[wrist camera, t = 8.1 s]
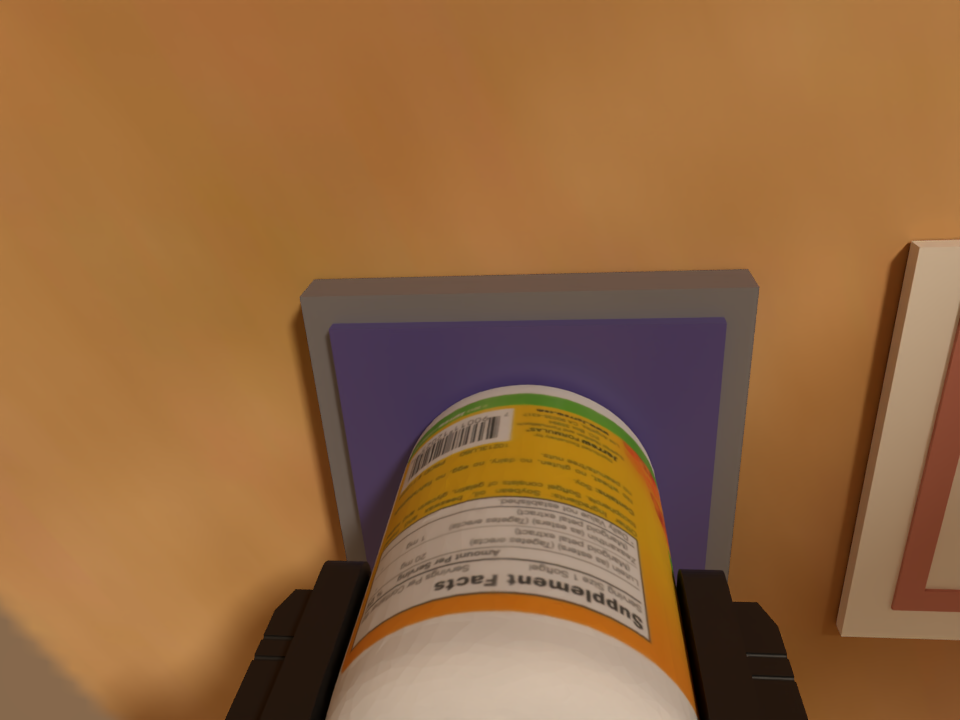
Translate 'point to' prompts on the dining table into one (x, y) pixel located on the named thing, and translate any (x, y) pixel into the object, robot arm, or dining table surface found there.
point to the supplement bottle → (521, 575)
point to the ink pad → (539, 378)
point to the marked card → (913, 468)
